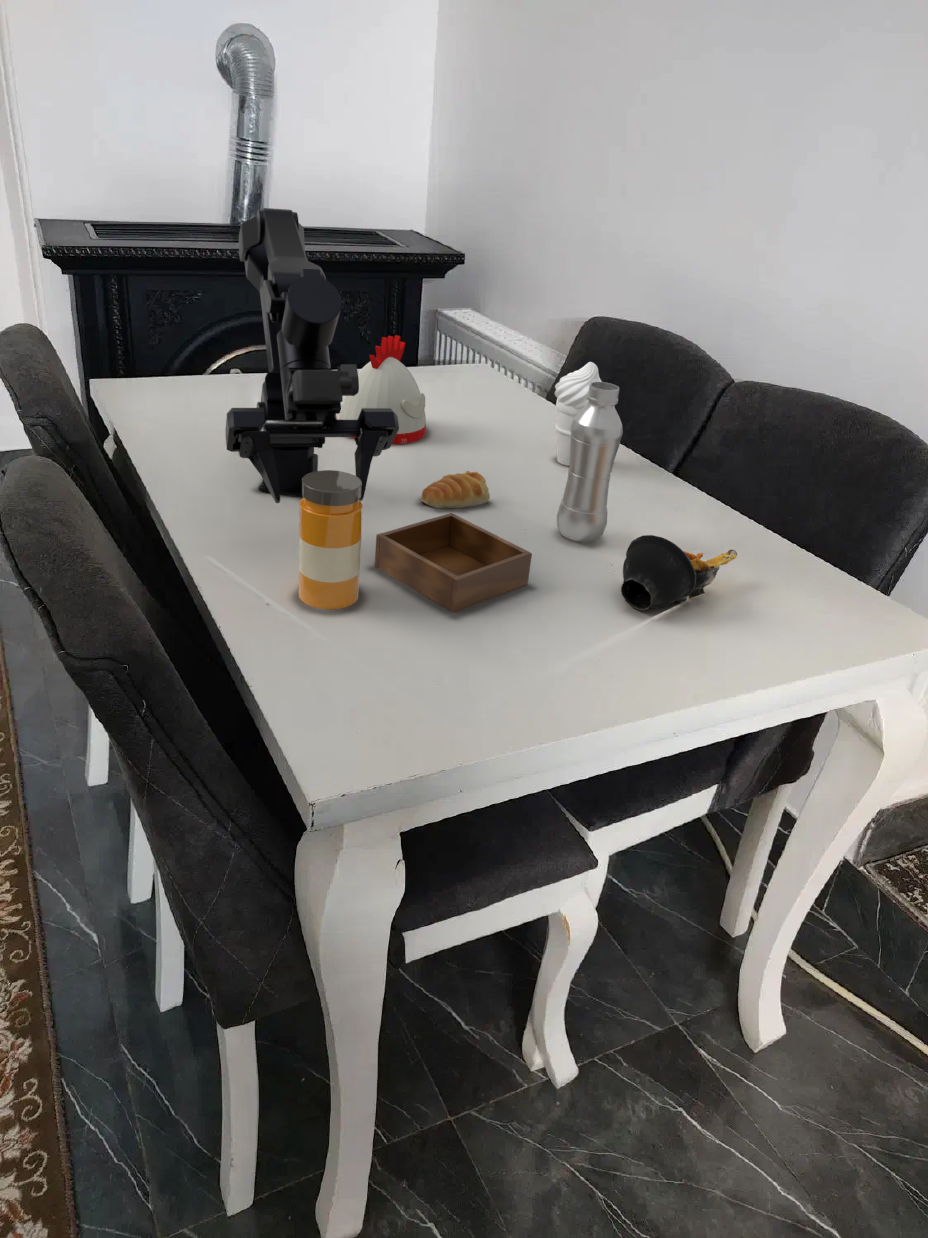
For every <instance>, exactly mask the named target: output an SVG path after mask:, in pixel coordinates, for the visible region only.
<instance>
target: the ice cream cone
mask: <svg viewBox="0 0 928 1238" xmlns="http://www.w3.org/2000/svg"><path fill="white" fill-rule="evenodd" d="M592 382H603V381H602V379H601V378H600V374H599V368H598V365H597V364H595V362H593V361H589V362H587V363H586V364H584V366H582V367H581V368H579V369H578V370H574V371H573V372H569V373H567V374H566V375H564V376H562V377H560V379H559V381H558V382H557V383H556V384H555V385H554V388H555V391H554V395H555V396H554V397H556V398H557V399H556V403H555V409H556V413H555V424H554V429H555V441H556V443H555V444H556V461H557V463H559V464H561V465H562V466H565V467H566V466H567V467H570V466H569V462H570V442H571V424H572V422H573V419H574V417H575V416H576V415H577V414H578V412H579V411H580V410H581V409H582V408H583V407H584V406H585V405H586V404H587V403H588V400H587V399H586V397H587V394H588V391H589V385H590V383H592Z"/></svg>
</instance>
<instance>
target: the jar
mask: <svg viewBox="0 0 928 1238" xmlns="http://www.w3.org/2000/svg"><path fill="white" fill-rule="evenodd" d="M361 487H362V482H361V480H360V479H359V478H358V477H357V476H356V474H353V473H349V472H347V471H341V470H333V469H330V470H329V469H324V470H318V471H315V472H311V473H309V474H307V475H305V476H304V477H303V478H302V495H303V497H301V499H300V501H299V522H298V523H299V525H298V526H299V530H298V532H299V533H298V597H299V599H300V601H302V602H303V603H304V604H305V605H306V606H307V605H308V606H310V607H312V608H316V609H321V610H338V609H344V608H347V607H350V606H352V605H354V604H355V603H356V602H357V601H358V599H359V593H360V591H359V590H360V571H361V554H362V553H361V551H362V527H363V508H364V507H363V502H362V501H360V500H359V499H360V498H361Z"/></svg>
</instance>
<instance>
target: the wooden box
mask: <svg viewBox="0 0 928 1238" xmlns="http://www.w3.org/2000/svg"><path fill="white" fill-rule="evenodd" d="M374 554H375V555H374V567H375V568H376V569H378V570H380V571H381V572H383V573H385V574H386V575H388V576H390V577H391V578H393V579H395V580H397V581H398V582H399V583H402V584H403V585H405V586H406V587H408V588H410V589H412V590H413V591H415V592H417V593H419V594H420V595H422V596H423V597H425V598H427V599H428V600H431V601H432V602H433V603H435V604H437V605H439V606H441V608H444V609H445V610H447V611H449V612H450V613H452V614H456V613H459V612H461V611H464V610H467V609H469V608H472V607H474V606H477V605H479V604H482V603H484V602H487V601H489V600H492V599H495V598H498V597H500V596H503V595H505V594H507V593H511V592H513V591H516V590H518V589H520V588H523V587H525V586H528V584H529V577H530V571H531V563H532V557H533V552H530V551H528V550H527V549H524V548H522V547H521V546H519V545H516V544H515V543H513V542H510V541H509V540H507V539H504V538H502V537H500V536H498V535H497V534H495V533H493V532H490V531H489V530H486V529H485V528H482V527H480V526H479V525H477V524H475V523H472V522H470V521H469V520H466V519H464V518H462V517H461V516H459V515H456V514H455V513H453V512H450V513H449V512H448V513H446V514H443V515H439V516H435V517H432V518H429V519H426V520H422V521H419V522H415V523H412V524H408V525H405V526H401V527H397V528H395V529H391V530H388V531H385V532H381V533H377V534H376V536H375V553H374Z"/></svg>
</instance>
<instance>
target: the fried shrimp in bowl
mask: <svg viewBox="0 0 928 1238" xmlns="http://www.w3.org/2000/svg"><path fill="white" fill-rule="evenodd" d="M703 557H704V553H703V552H698V553H697V554H694V553H691V552H688V551H684V550H683V549H682V548H681V547H680V546H678V545H677V544H676V543H674V542H673V541H671V540H669V539H667V538H664V537H663V536H658V535H654V534H646V535H641V536H638V537H636V538H635V539H633V540H632V541H631V542H630V543H629V545H628V547H627V549H626V553H625V558H624V561H623V565H622V578H623V580H622V581H623V583H622V584H621V589H620V594H621V596H622V597H623V599H624V601H625V602H626V603H627V604H628V605H629V606H630V607H632V608H633V609H635V610H638V611H642V612H644V611H648V610H649V609H650V608H654V609H657V608H658V609H661V608H664V607H668V606H670V605H671V604H673V603H675V602H677V603H685V602H687V601H689V600H693V599H696V598H700V597H702V596H704V595H706V591H705V589H704V588H705V587H708V586H709V585H711V584H712V582H714V580H715V578H716V575H717V574H718V572H719V570H720V566H724V565H727V564H729V562H731V561H733V560H735V559H737V557H738V552H737V551H736V550H735V549H728V551H726V552H725V553H720V554H719V555H717V556H715V557H713V558H712V557H711V558H710V559H707V560H702V559H701V558H703ZM648 593H649V595H650V604H649V606H647V605H644V604H642V603H640V602H639V601H637V598H638V597H641V596H643V595H646V594H648Z"/></svg>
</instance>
